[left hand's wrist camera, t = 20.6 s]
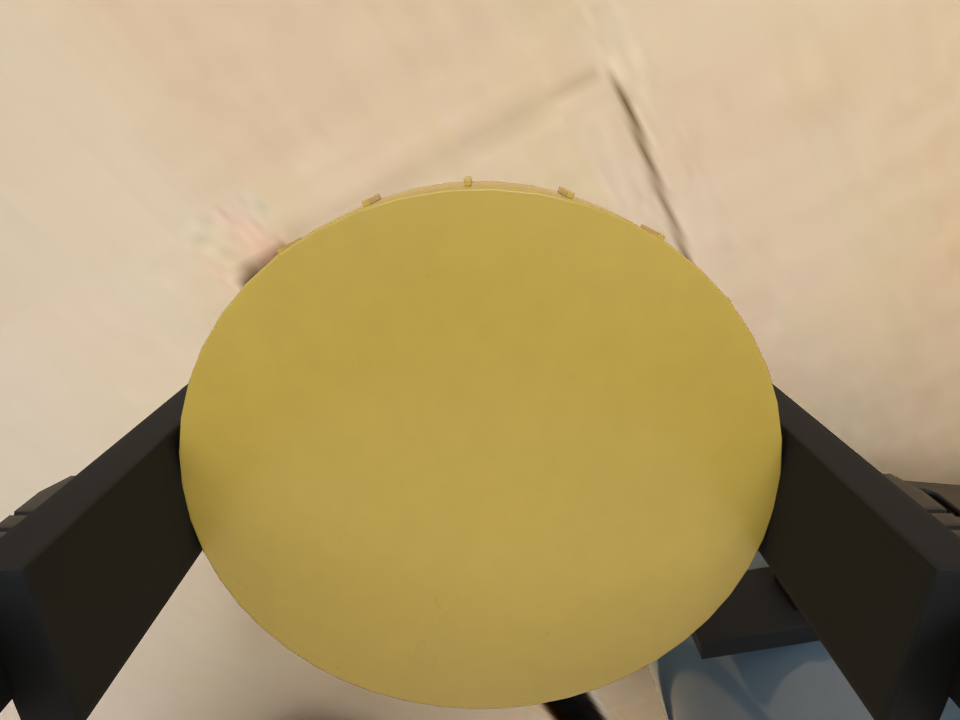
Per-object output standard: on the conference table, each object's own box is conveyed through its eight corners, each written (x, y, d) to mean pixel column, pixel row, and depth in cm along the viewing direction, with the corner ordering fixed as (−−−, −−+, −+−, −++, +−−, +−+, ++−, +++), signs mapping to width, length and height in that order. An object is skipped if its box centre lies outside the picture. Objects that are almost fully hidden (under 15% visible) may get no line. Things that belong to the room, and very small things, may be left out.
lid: (245, 642, 14) (216, 704, 12) (175, 164, 10) (119, 168, 8) (694, 655, 14) (720, 719, 12) (801, 189, 10) (859, 196, 9)
